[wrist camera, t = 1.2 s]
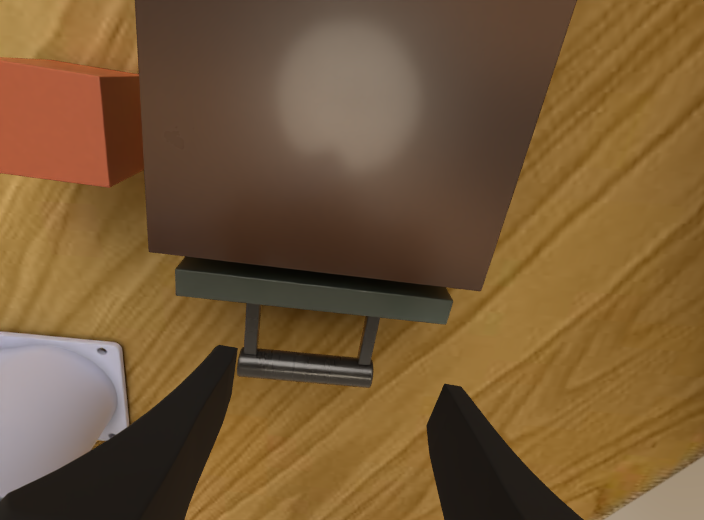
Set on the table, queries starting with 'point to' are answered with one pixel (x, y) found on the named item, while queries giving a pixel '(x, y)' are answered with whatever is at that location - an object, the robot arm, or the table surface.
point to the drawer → (309, 294)
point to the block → (69, 122)
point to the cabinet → (341, 130)
